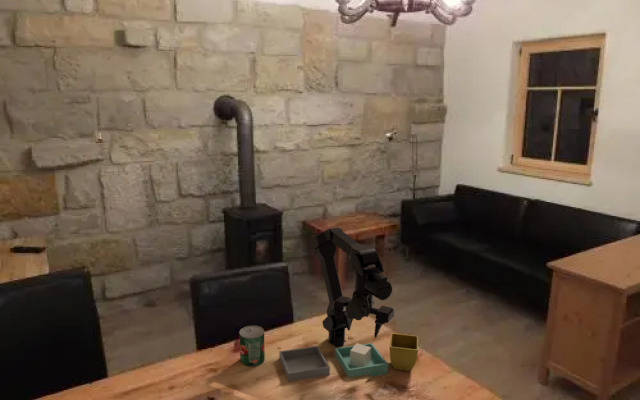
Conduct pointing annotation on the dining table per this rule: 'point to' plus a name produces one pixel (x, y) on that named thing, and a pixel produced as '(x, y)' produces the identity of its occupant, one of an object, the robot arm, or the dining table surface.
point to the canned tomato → (252, 346)
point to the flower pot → (403, 351)
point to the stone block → (360, 355)
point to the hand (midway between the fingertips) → (362, 333)
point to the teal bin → (373, 368)
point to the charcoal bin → (303, 363)
